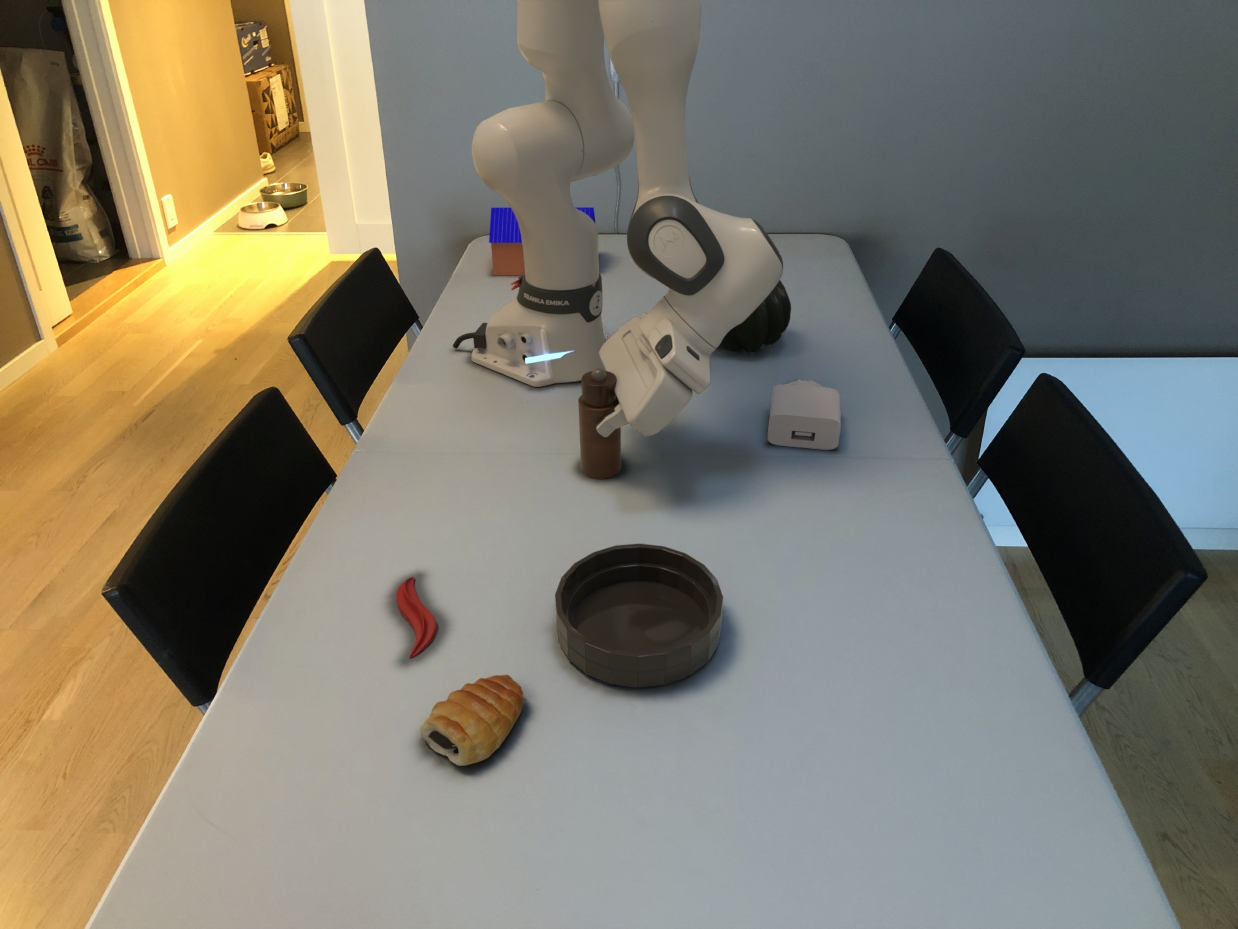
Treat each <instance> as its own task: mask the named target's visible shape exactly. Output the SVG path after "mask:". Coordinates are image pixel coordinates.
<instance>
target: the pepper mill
mask: <svg viewBox="0 0 1238 929" xmlns="http://www.w3.org/2000/svg"><path fill="white" fill-rule="evenodd" d="M615 384H616V376H615V375H614V374H613V373H611V372H609V371H606V370H605V371H604V370H603V369H601V368H596V369H594V370H593V371H590V372H587V373H585V374H584V375H583V376H582V380H581V395H580V396H579V397H578V401H577V403H578V404H577V405H578V430H579V431H578V432H579V453H580V454H579V455H580V456H579V457H580V471H581V472H582V474H583V475H584V476H586V477H589V478H591V479H597V480H602V479H609V478H612V477H613V478H614V477H616V476H617V475H618V474H619V473H620V472H621V470H622V427H620V428H617V429H615V430H614V431H613V432H612V433H611V434H610V435H609V436H608V437H603V436H602V435H600V434H599V433H598V432H597V429H596V426H595V423H596V422H597V421H599V419H600V418H601V417H602V416H603V415H604V416H605V417H607V416H608V415H610V414H612V413H613V412H615V410H614V409H615V407H616V406H617V405H618V404H619V400H618V398H617V396H616V393H615V391H614V388H615Z"/></svg>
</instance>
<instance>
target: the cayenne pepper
mask: <svg viewBox="0 0 1238 929" xmlns="http://www.w3.org/2000/svg"><path fill="white" fill-rule="evenodd" d="M415 581H416V578H415V577H411V576H410V577H409V578H407V579H405V580H404V582H402V583H401V584H400V585H399V586H398V588H397V590H396V594H395V599H396V603H397V607H398V610H399V613H401V615H402V616H403V618H404V619H405V620H406V621H407V622H408V623H409V625H410V626H411V628H412V629H413V631H414V634H415V642H414V644H413V647H412V649H411V651H410V653H409V657H408V658H409V659H411V658H414V657H416V656H418V655H420V654H421V653H422V652H423V651H424V650H426V649H427V648H428V646H430V644H431V643H432V642H433V640H434V638H435V637H436V634H437V632H438V624H437V621H436V618H435V616H434V614H433V613H432V612H431V611H430V610H429V609H428V608H427V607H425V606H424V604H423V603H422V602H421V599H420V598H419V596H418V595H417V592H416V588H415Z"/></svg>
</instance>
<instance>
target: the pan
mask: <svg viewBox="0 0 1238 929" xmlns="http://www.w3.org/2000/svg"><path fill="white" fill-rule="evenodd" d="M721 589H722V588H721V587H720V584H719V581H718V579H717V578H716V576H715V575H714V574H713V573H712V572H711V571H710V570H709V568H708V567H707V566H706V565H705V564H704V563H702V562H701V561H699V560H697V559H695V558H694V557H693V556H691V555H689V554H688V553H686V552H683V551H680V550H677V549H673V548H670V547H668V546H665V545H656V544H649V543H648V544H647V543H628V544H616V545H613V546H610V547H609V546H608V547H606V548H602V549H599V550H596V551H593V552H591V553H589V554H587V555H586V556H584V557H582V558H581V559H579V560H577V561H575V562H574V563H573V564H572V565H571V566H570V567H569V569H567V571H566V572H565V573H564V574H563V575H562V576H561V577H560V580H559V583H558V585H557V588H556V590H555V593H554V602H555V618H556V619H555V620H556V630H557V640H558V644H559V646H560V648H561V649H562V650H563V652H564V654H565V656H566V658H567V659H568V660H569V661H570V662H571V663H572V664H573V665H575V666H576V667H577V668H578V669H580V670H581V671H582V672H583V673H584V674H586V675H587V676H590V677H592V678H594V679H597V680H600V681H601V682H604V683H607V684H609V685H614V686H621V687H622V686H623V687H629V688H635V689H636V688H646V687H647V688H648V687H657V686H665V685H668V684H672V683H674V682H676V681H679V680H682V679H684V678H687V677H690V676H691V675H693V674H694V673H695V672H696V671H698V670H699V669H701V668H702V667H704V665H705V664H707V663H708V662H710V659H711V658H712V656H713V655H714V653H715V651H716V649H717V648H718V646H719V644H720V638H721V629H722V618H723V604H724V595H723V592H722V590H721Z"/></svg>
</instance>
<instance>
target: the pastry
mask: <svg viewBox="0 0 1238 929" xmlns="http://www.w3.org/2000/svg"><path fill="white" fill-rule="evenodd" d="M524 699H525V698H524V691H523V689H522V686H521V685H520V684H519V683H518V682H517V681H515V680H514V679H513V678H512V677H511V675H509V674H502V675H499V674H497V675H492V676H489V677H486V678H485V677H479V678H478V679H477V680H476V681H475V682H474V683H468V682H467V683H465V684H464V685H462V687H461V689H457V690H453V691H451V692H450V693H449V694H448V696H447V699H446V700H443V701H438V702H436V703H435V704H434V706H433V707H432V709H431V712H430V714H429V716H428V718H426V720H425V721H424V723H423V724H422V725H421V726H420V729H419V731H420V736H421V738H422V739H424V740H425V741H426V743H427V745H428V746H429V747H430V748H431V749H432V750H433V752H435V753H439V754H440V755H442V756H445V757H447V758H448V760H449V761H450V762H452V763H453V764H455V765H456V766H459V767H462V766H469V765H472V764H477V763H479V762H482V761H485V760H486V759H489V758H490V756H492V754H493V753H494V752H495V751H497V750H498V749H499V748H500V747H501V745H502V744H503V742H504V741H505V740H506V738H507V737H508V736H509V734H510V732H511V730H512V729H513V727H515V726H514V725H515V724H516V722H517V720H518V718H519V717H520V715H521V714H522V711H523V707H524V701H525V700H524Z"/></svg>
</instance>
